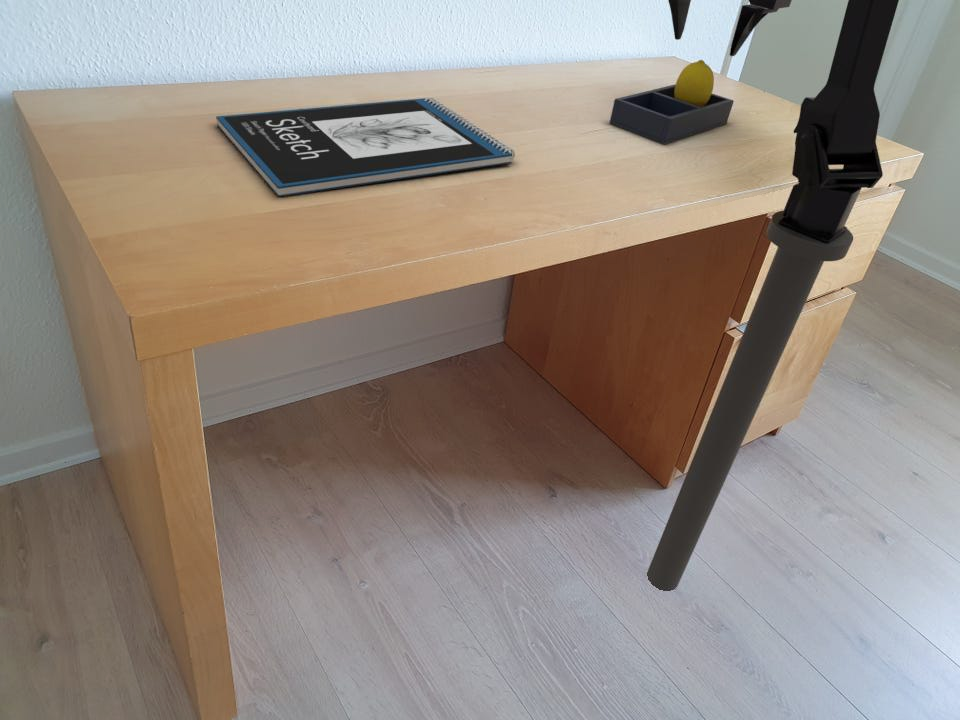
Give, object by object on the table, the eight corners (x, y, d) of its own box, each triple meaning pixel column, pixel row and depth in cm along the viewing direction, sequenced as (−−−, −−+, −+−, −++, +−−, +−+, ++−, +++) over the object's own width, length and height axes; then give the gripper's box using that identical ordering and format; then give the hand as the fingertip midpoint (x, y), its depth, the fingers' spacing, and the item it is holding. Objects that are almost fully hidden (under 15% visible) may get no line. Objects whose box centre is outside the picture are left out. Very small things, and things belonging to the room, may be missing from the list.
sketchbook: (216, 127, 87) (215, 110, 86) (432, 109, 102) (433, 94, 100) (278, 198, 73) (277, 178, 72) (517, 165, 88) (520, 148, 86)
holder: (726, 123, 112) (734, 100, 109) (664, 144, 100) (671, 119, 98) (674, 105, 116) (680, 82, 114) (609, 123, 105) (614, 98, 103)
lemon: (698, 110, 113) (714, 57, 108) (708, 121, 109) (725, 67, 104) (664, 106, 112) (678, 53, 108) (673, 118, 108) (688, 62, 103)
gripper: (829, -63, 96) (786, 58, 106) (708, -86, 106) (678, 27, 115) (795, -63, 89) (752, 67, 99) (668, -88, 99) (640, 33, 108)
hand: (704, 47), depth 105 cm, fingers open, 9 cm apart
